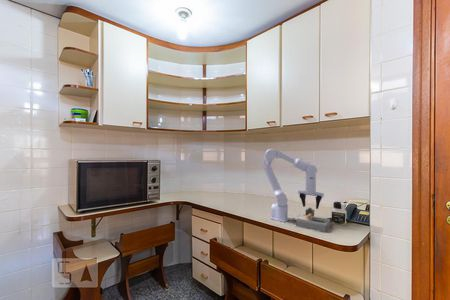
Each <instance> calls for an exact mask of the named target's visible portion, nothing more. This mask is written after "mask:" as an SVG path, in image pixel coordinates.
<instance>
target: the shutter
mask: <svg viewBox="0 0 450 300" xmlns="http://www.w3.org/2000/svg"><path fill="white" fill-rule="evenodd" d="M304 215H305V214H298V215H296V216H295V217H294V219H295V220H297V218H299V219H304V220H311V219H312V214H310V213H309V214H308V215H307V216H304Z"/></svg>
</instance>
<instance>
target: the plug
mask: <svg viewBox="0 0 450 300" xmlns="http://www.w3.org/2000/svg"><path fill="white" fill-rule="evenodd" d="M309 213H310V214H312V216H314V217H315V209H313V208H312V207H308V208H307V209H305V215H308V214H309Z"/></svg>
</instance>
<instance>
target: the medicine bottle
mask: <svg viewBox="0 0 450 300" xmlns="http://www.w3.org/2000/svg"><path fill="white" fill-rule="evenodd" d="M347 212H348V211H347V210H346V203H344V202H341V201H334V202H333V209H332V210H331V224H334V225H335V224H336V225H342V226H346V224H347V221H346V218H347V215H348V214H347Z"/></svg>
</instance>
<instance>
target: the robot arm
mask: <svg viewBox="0 0 450 300" xmlns="http://www.w3.org/2000/svg"><path fill="white" fill-rule="evenodd" d="M275 158H276V159H282V160H284V161H287V162H289V163H291V164H292V165H293V167H294V168H297V169H298V170H300V171H301V172H302V171H303V172H305V190H298V191H297V194H298V195H299V196H298V197H299V198H300V200H301V203H302V207H306V198H307V197H306V196H314V197H315V209H316V210H318V209H319V206H320V204H321V202H322V201H321V200H322V199H323V198H324V197H325V194H324V192H318V191H317V177H316V176H317V175H316V174H317V172H318V169H317V167H316V166H315V165H313V164H311V162H307V161H305V160H303V158H298V157H297V158H294V157H292V156H290V155H288V154H287V153H284V152H282V151H280V150H278V149H277V150H275V149H273V148H268V149H267V150H266V151H265V153H264V155H263V160H262V167H263V169H264V171H265V174H266V177H267V179H268V180H269V183H270V184H271V187H272V190H273V192H274V195H275V198H276V203H272V204H271V207H270V208H271V209H270V220H274V221H277V222H278V221H279V222H283V223H285V222H288V221H289V220H290V219H291V218H290V217H288V211H289V209H288V207H289V206H288V198H287V195H286V194H285V193H284V191H283V190H282V188H281V186H280V183H279V181H278V178H277V177H276V175H275V172H274V170H273V167H272V166H271V165H272V163H273V160H274V159H275Z"/></svg>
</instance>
